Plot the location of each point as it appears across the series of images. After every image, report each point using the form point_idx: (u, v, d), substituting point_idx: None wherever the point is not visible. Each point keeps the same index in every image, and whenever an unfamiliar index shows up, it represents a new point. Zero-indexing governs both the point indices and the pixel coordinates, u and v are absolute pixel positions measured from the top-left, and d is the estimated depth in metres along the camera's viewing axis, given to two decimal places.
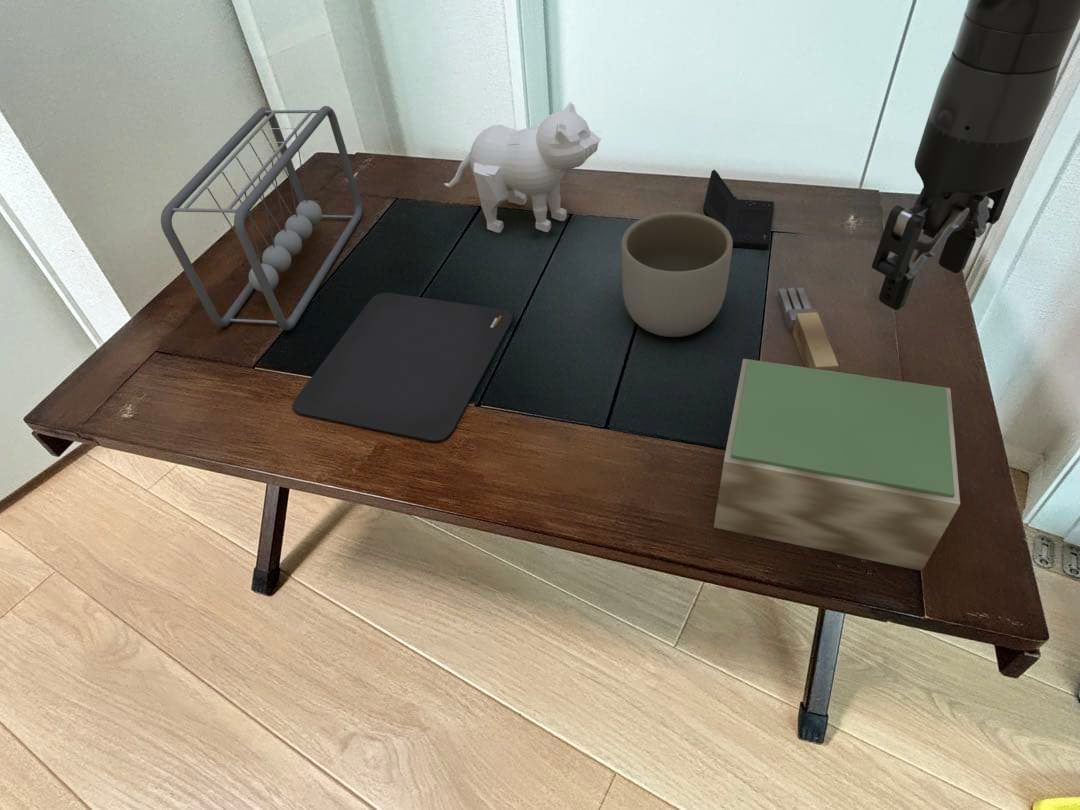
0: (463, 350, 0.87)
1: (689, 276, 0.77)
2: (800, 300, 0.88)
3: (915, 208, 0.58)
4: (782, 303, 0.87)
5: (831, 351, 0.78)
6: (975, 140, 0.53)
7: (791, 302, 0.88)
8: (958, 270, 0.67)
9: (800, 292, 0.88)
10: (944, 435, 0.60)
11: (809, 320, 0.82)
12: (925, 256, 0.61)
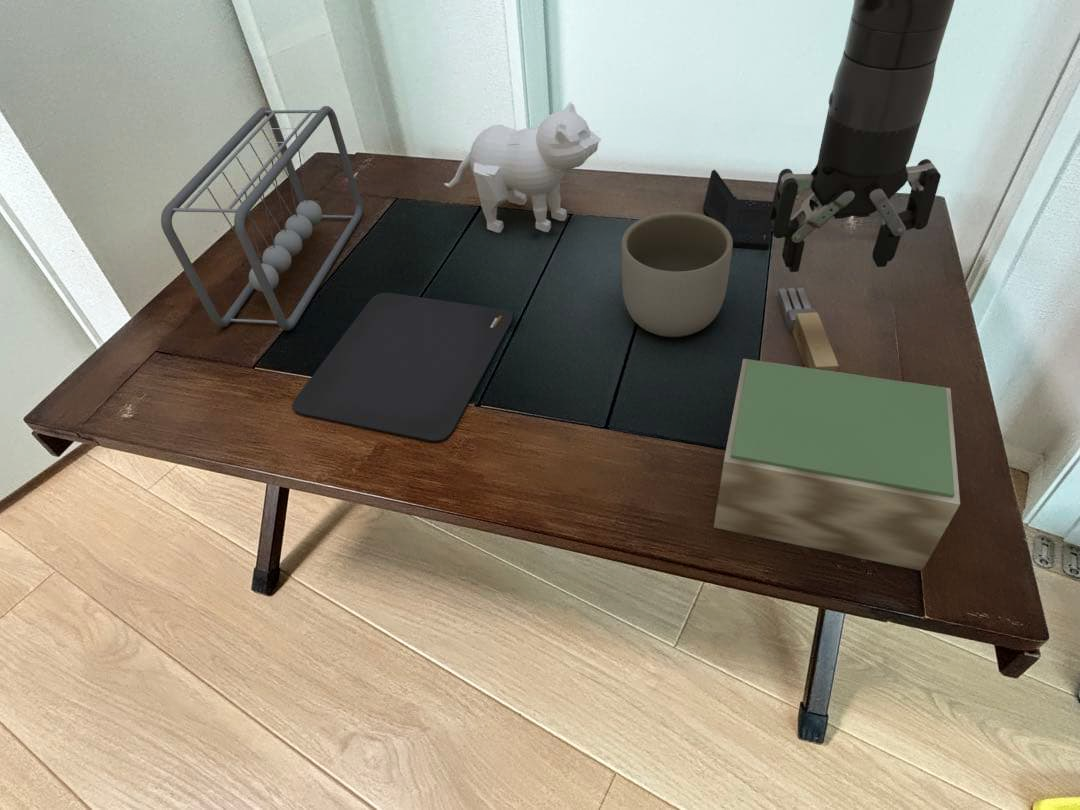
0: (463, 350, 0.87)
1: (689, 276, 0.77)
2: (800, 300, 0.88)
3: (801, 175, 0.66)
4: (782, 303, 0.87)
5: (831, 351, 0.78)
6: (840, 122, 0.60)
7: (791, 302, 0.88)
8: (878, 264, 0.71)
9: (800, 292, 0.88)
10: (944, 435, 0.60)
11: (809, 320, 0.82)
12: (811, 226, 0.68)
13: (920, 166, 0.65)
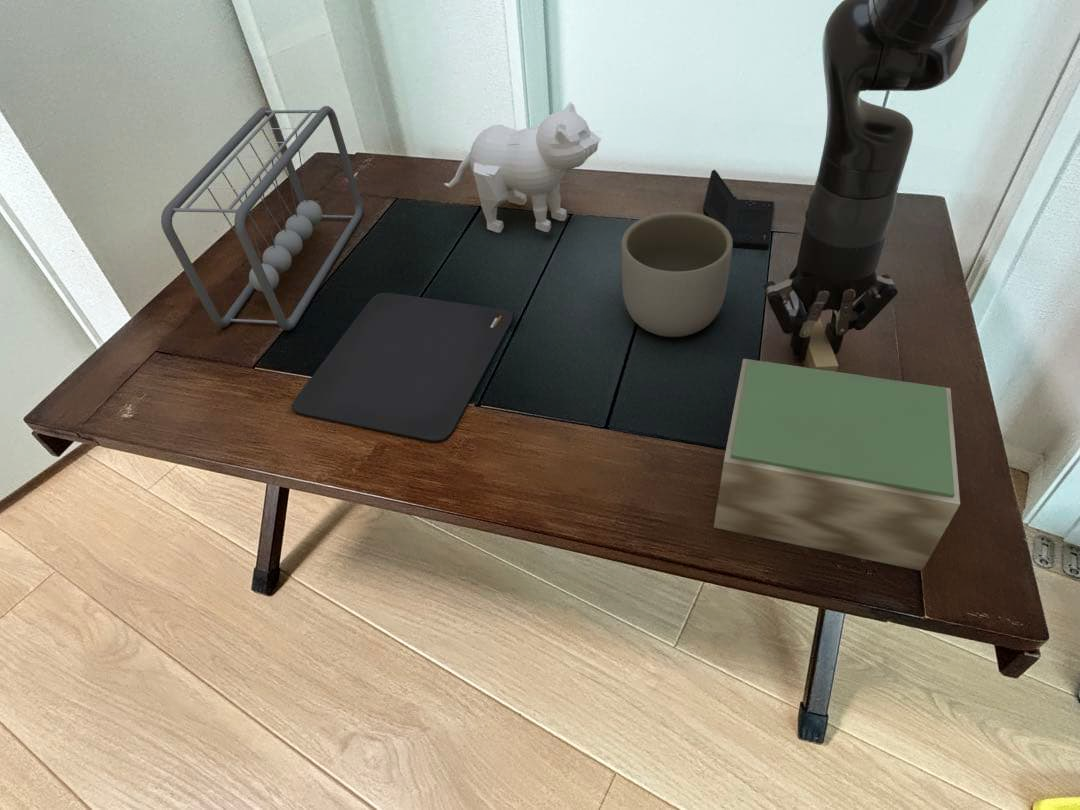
0: (463, 350, 0.87)
1: (689, 276, 0.77)
2: None
3: (780, 284, 0.75)
4: None
5: (831, 351, 0.78)
6: (814, 236, 0.68)
7: (791, 302, 0.88)
8: None
9: None
10: (944, 435, 0.60)
11: None
12: (810, 322, 0.76)
13: (884, 278, 0.74)
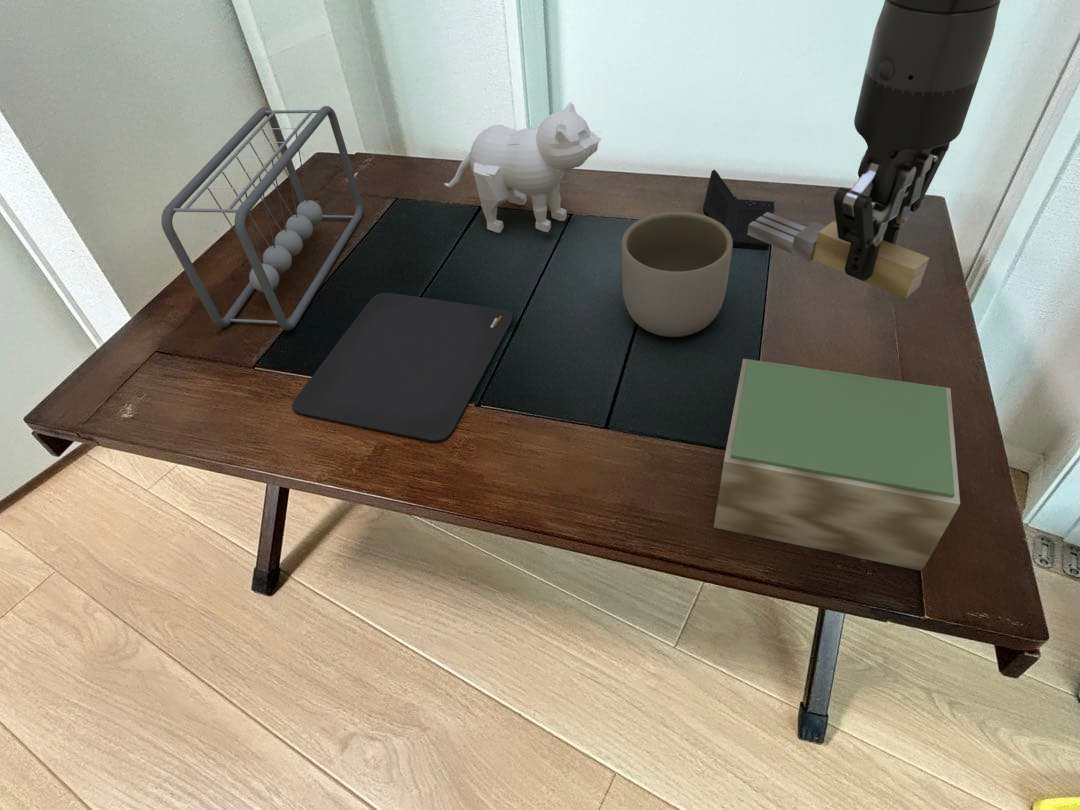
0: (463, 350, 0.87)
1: (689, 276, 0.77)
2: (781, 224, 0.69)
3: (858, 184, 0.54)
4: (770, 235, 0.68)
5: (903, 248, 0.61)
6: (920, 90, 0.49)
7: None
8: None
9: (773, 217, 0.69)
10: (944, 435, 0.60)
11: None
12: None
13: None
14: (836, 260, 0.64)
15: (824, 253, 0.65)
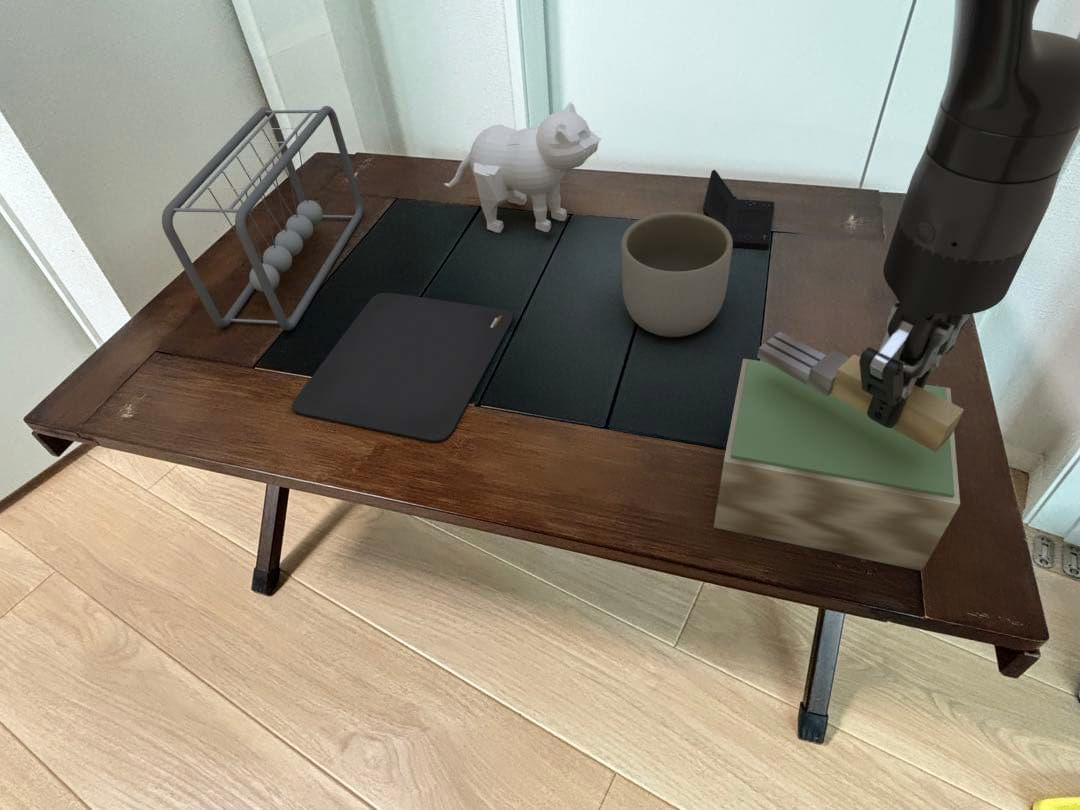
0: (463, 350, 0.87)
1: (689, 276, 0.77)
2: (794, 348, 0.62)
3: (888, 346, 0.48)
4: (783, 363, 0.61)
5: (933, 395, 0.54)
6: (965, 258, 0.42)
7: (789, 356, 0.62)
8: None
9: (785, 339, 0.63)
10: None
11: None
12: None
13: None
14: (857, 400, 0.57)
15: (844, 391, 0.58)
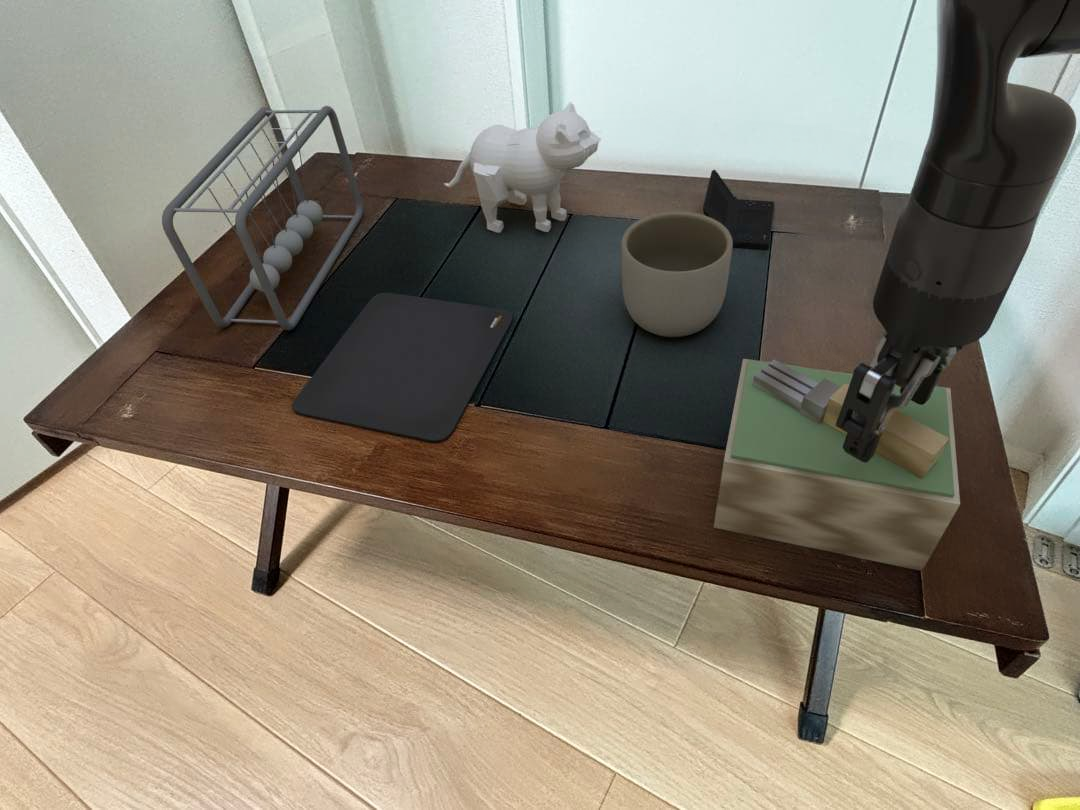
0: (463, 350, 0.87)
1: (689, 276, 0.77)
2: (788, 376, 0.65)
3: (882, 365, 0.49)
4: (777, 390, 0.63)
5: (920, 424, 0.57)
6: (949, 296, 0.44)
7: (783, 384, 0.64)
8: (923, 402, 0.59)
9: (779, 367, 0.65)
10: (944, 435, 0.60)
11: None
12: (894, 409, 0.52)
13: None
14: None
15: (835, 418, 0.60)
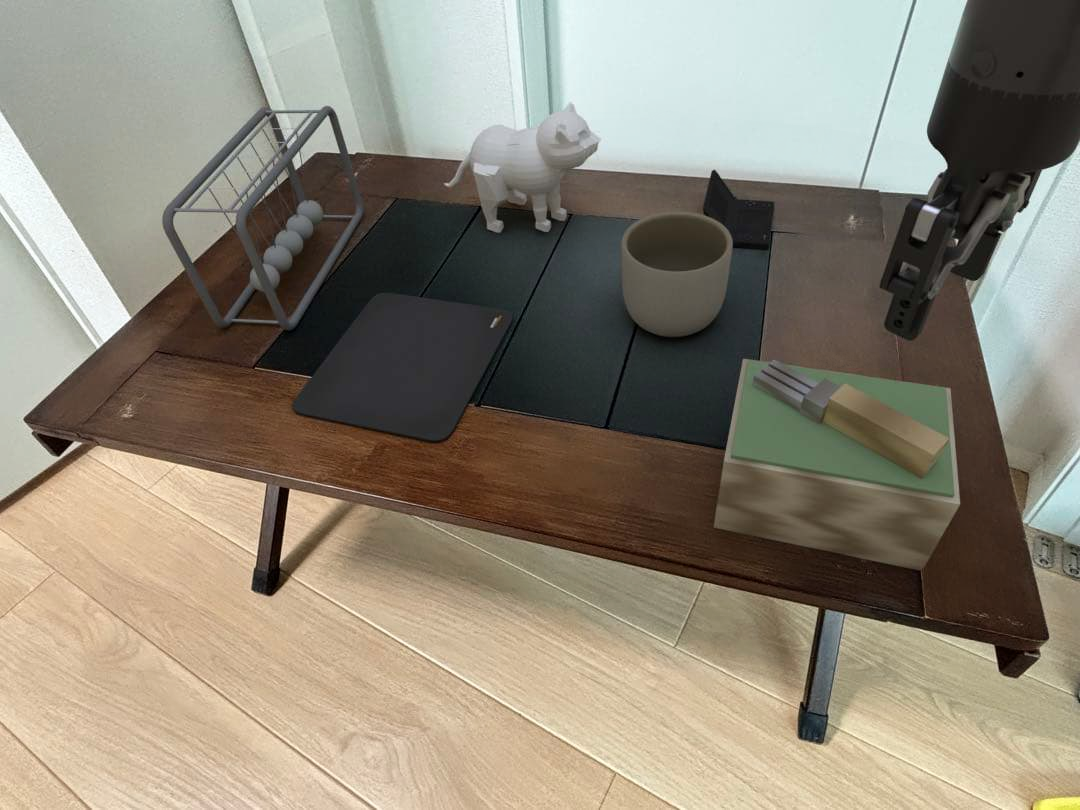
0: (463, 350, 0.87)
1: (689, 276, 0.77)
2: (788, 376, 0.65)
3: (940, 199, 0.40)
4: (777, 390, 0.63)
5: (920, 424, 0.57)
6: (1032, 92, 0.35)
7: (783, 384, 0.64)
8: (977, 277, 0.50)
9: (779, 367, 0.65)
10: (944, 435, 0.60)
11: (851, 398, 0.59)
12: (951, 265, 0.43)
13: None
14: (848, 428, 0.60)
15: (835, 418, 0.60)
